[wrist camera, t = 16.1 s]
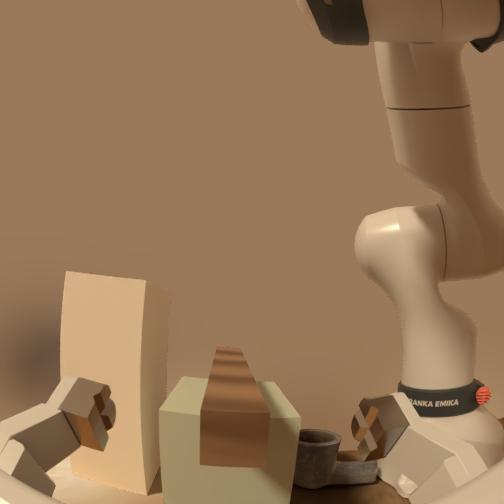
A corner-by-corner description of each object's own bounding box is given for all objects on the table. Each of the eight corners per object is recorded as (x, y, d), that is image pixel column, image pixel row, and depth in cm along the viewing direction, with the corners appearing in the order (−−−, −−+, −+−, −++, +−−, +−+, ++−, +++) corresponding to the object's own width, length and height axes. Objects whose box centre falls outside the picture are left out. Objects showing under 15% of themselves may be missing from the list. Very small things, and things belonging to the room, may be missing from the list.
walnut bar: (265, 467, 10) (270, 412, 11) (199, 465, 10) (200, 409, 11) (238, 369, 35) (240, 348, 36) (216, 368, 35) (217, 346, 36)
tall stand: (146, 495, 22) (146, 280, 27) (73, 474, 21) (66, 270, 27) (167, 450, 35) (171, 292, 41) (109, 438, 34) (111, 285, 40)
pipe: (373, 495, 22) (386, 445, 24) (274, 489, 26) (280, 441, 28) (371, 474, 28) (381, 428, 30) (285, 469, 32) (290, 425, 34)
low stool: (280, 551, 14) (301, 417, 17) (169, 547, 13) (158, 409, 17) (264, 492, 26) (273, 381, 29) (183, 488, 25) (182, 376, 28)
